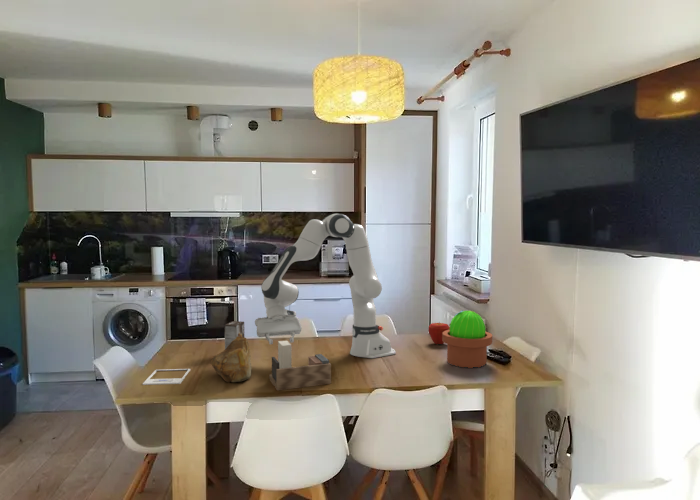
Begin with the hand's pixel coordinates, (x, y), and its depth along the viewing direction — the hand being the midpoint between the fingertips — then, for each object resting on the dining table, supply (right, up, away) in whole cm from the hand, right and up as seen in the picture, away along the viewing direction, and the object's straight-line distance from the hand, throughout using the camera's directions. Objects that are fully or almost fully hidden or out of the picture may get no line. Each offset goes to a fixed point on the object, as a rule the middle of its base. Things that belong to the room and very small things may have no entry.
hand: (281, 342), depth 222 cm
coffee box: (-25, -10, +18) cm, 32 cm away
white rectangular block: (+2, -11, -4) cm, 12 cm away
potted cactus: (+84, -11, +8) cm, 85 cm away
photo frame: (-46, -12, -14) cm, 49 cm away
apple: (+77, -9, +42) cm, 88 cm away
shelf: (+10, -12, -19) cm, 25 cm away
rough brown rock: (-20, -12, -12) cm, 26 cm away
